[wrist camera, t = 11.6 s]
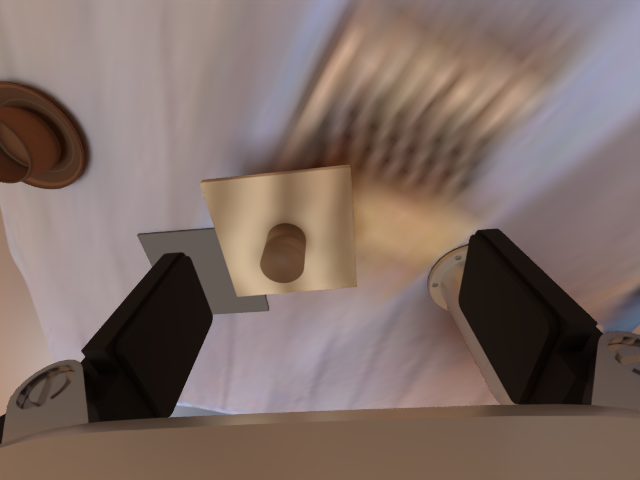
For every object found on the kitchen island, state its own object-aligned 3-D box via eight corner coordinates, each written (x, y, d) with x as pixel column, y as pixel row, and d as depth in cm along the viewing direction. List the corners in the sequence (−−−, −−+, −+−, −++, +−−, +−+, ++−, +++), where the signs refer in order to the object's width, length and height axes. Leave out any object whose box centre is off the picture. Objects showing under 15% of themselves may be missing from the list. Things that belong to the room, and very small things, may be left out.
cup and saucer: (-20, 149, 37) (-78, 164, 31) (-13, 55, 31) (-82, 53, 26) (82, 200, 40) (44, 221, 35) (103, 122, 35) (63, 133, 29)
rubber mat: (248, 225, 41) (247, 226, 41) (269, 309, 49) (268, 310, 49) (138, 233, 42) (137, 235, 42) (176, 314, 50) (175, 316, 50)
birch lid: (349, 164, 27) (356, 184, 23) (356, 282, 34) (362, 315, 30) (202, 179, 28) (180, 202, 23) (238, 292, 35) (226, 326, 31)
